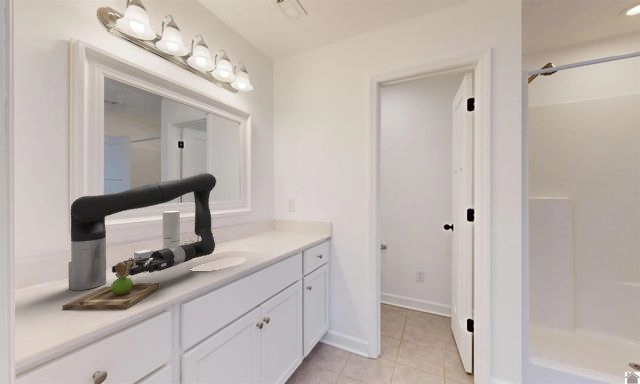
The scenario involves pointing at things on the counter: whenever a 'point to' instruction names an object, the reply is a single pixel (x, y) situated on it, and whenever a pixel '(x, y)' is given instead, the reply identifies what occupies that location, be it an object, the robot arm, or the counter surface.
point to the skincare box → (143, 254)
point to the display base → (113, 297)
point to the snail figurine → (122, 279)
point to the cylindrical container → (171, 229)
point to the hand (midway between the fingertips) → (121, 271)
